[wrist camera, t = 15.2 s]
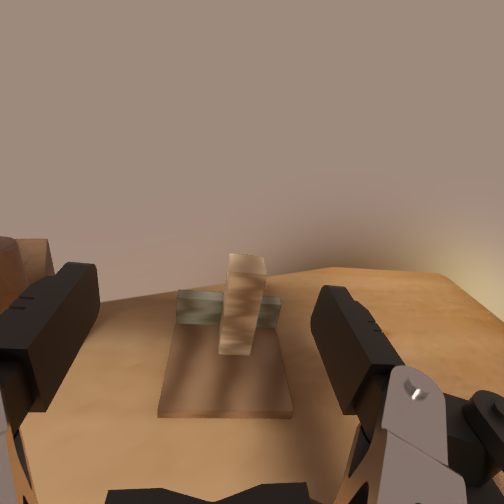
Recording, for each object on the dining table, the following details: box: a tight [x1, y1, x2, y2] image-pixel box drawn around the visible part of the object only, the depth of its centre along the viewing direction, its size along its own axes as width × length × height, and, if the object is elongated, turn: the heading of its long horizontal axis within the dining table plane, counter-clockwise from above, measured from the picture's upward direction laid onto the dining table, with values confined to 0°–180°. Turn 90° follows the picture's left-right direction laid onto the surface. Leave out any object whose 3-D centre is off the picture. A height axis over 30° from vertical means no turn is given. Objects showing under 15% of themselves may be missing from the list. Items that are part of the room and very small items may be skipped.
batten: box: [218, 253, 267, 356], centre depth 39 cm, size 4×4×14 cm
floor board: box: [158, 290, 294, 418], centre depth 39 cm, size 16×16×6 cm
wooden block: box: [0, 237, 55, 315], centre depth 34 cm, size 4×11×18 cm, turn 19°
